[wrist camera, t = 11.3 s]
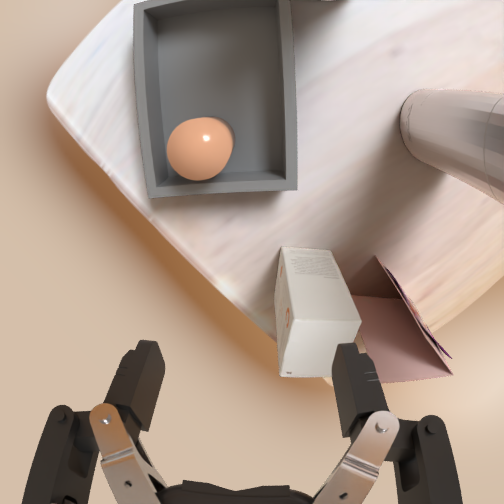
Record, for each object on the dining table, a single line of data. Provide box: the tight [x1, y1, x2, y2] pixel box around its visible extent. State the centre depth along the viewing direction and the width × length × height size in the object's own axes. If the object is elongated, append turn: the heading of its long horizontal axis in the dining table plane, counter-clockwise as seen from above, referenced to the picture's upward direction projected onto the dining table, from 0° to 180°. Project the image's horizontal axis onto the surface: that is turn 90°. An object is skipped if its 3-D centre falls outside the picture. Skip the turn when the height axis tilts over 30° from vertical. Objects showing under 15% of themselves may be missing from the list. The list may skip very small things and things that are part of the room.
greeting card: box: [351, 257, 453, 383], centre depth 30 cm, size 11×7×15 cm, turn 47°
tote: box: [133, 0, 297, 198], centre depth 23 cm, size 14×20×5 cm
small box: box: [274, 247, 362, 377], centre depth 30 cm, size 8×6×13 cm
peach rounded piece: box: [167, 116, 236, 181], centre depth 24 cm, size 5×5×7 cm
